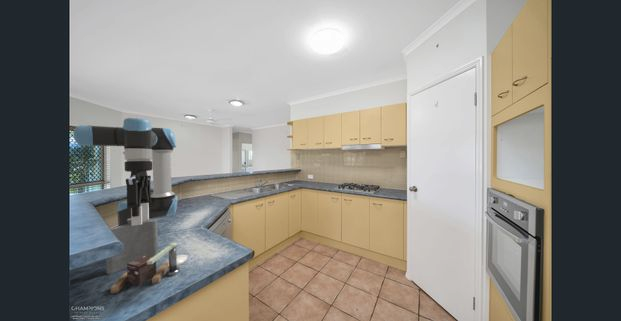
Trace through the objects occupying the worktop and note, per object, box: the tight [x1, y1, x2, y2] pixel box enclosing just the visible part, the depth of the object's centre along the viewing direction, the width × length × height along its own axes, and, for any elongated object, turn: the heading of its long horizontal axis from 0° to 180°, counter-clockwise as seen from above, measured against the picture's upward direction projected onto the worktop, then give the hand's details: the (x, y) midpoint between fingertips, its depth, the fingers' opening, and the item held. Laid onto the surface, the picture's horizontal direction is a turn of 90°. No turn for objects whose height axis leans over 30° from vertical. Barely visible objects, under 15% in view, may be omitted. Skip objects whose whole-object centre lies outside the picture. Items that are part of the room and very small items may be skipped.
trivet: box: [161, 254, 188, 269], centre depth 79 cm, size 9×9×1 cm
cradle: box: [110, 263, 169, 295], centre depth 68 cm, size 10×13×2 cm
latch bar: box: [147, 242, 178, 265], centre depth 66 cm, size 3×14×1 cm, turn 8°
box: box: [126, 256, 157, 287], centre depth 68 cm, size 6×6×7 cm
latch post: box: [165, 247, 181, 277], centre depth 71 cm, size 4×4×10 cm
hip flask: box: [105, 218, 159, 275], centre depth 78 cm, size 16×4×20 cm, turn 138°
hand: (140, 222), depth 67 cm, fingers open, 5 cm apart
